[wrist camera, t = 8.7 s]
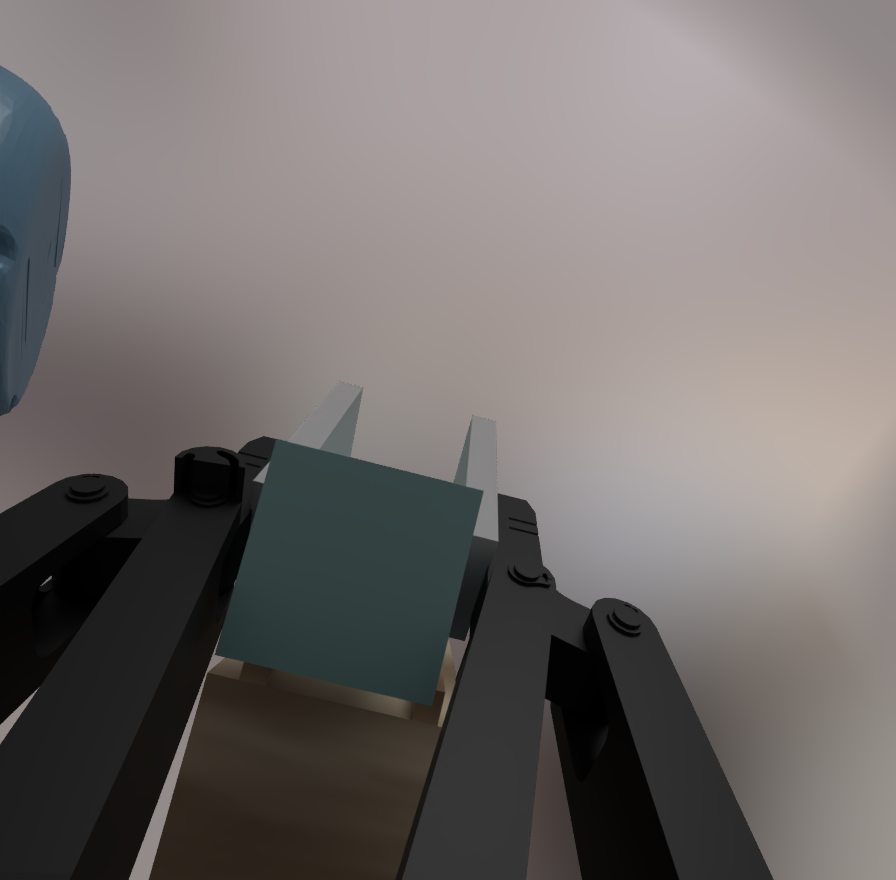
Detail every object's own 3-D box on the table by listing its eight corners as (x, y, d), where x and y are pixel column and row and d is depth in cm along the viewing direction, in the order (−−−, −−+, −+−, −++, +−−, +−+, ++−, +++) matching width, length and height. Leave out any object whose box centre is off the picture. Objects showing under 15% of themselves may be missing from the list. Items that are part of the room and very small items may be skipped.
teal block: (432, 706, 8) (483, 490, 9) (215, 655, 8) (276, 438, 9) (422, 551, 30) (437, 491, 31) (362, 536, 30) (378, 476, 31)
